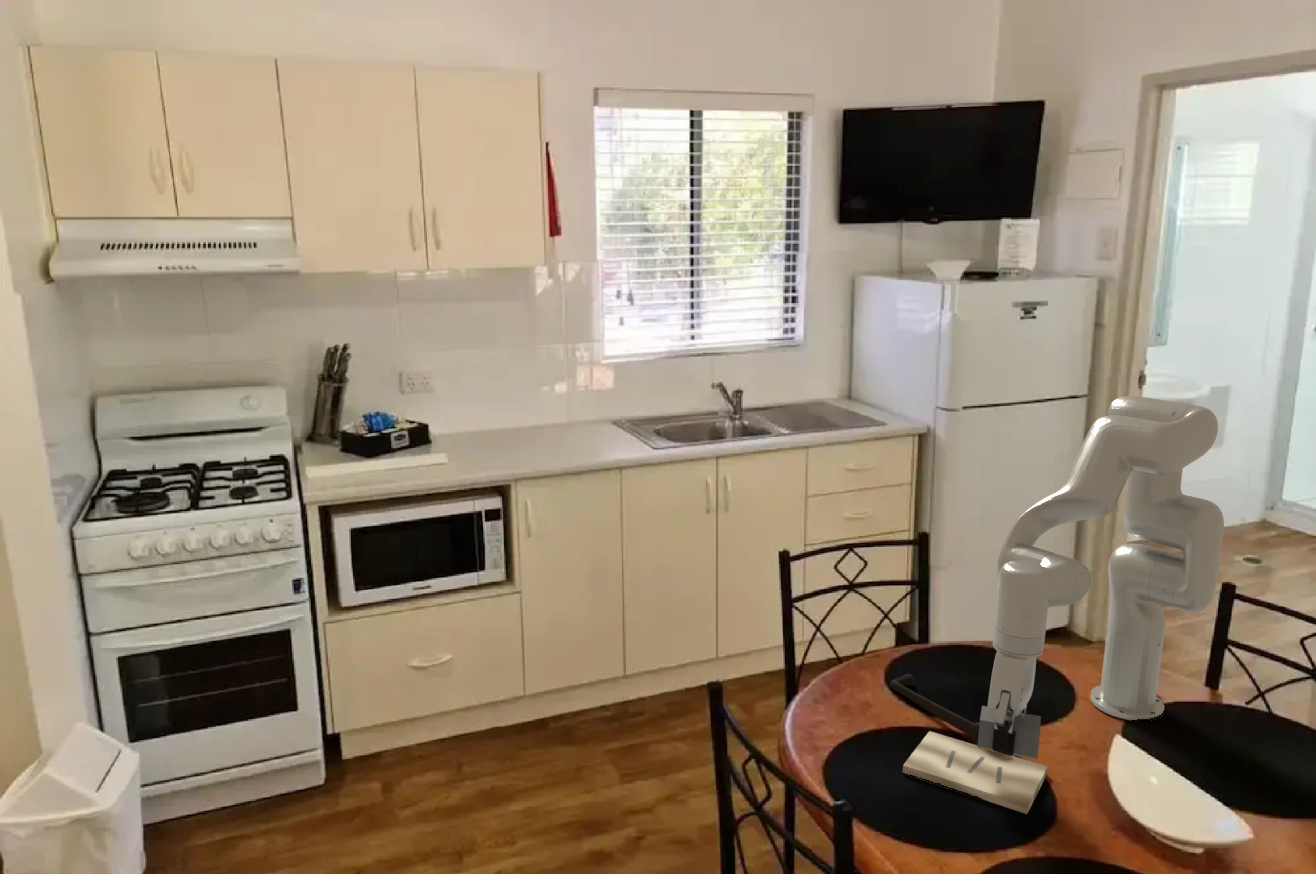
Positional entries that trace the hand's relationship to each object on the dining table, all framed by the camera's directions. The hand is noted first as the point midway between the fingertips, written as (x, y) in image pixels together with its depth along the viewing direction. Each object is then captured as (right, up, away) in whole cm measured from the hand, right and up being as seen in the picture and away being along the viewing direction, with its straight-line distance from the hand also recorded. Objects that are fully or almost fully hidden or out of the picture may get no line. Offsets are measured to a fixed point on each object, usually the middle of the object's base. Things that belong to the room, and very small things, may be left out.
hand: (1008, 742), depth 157 cm
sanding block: (0, -1, 0) cm, 1 cm away
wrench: (-3, -3, +22) cm, 22 cm away
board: (-4, -7, +5) cm, 9 cm away
